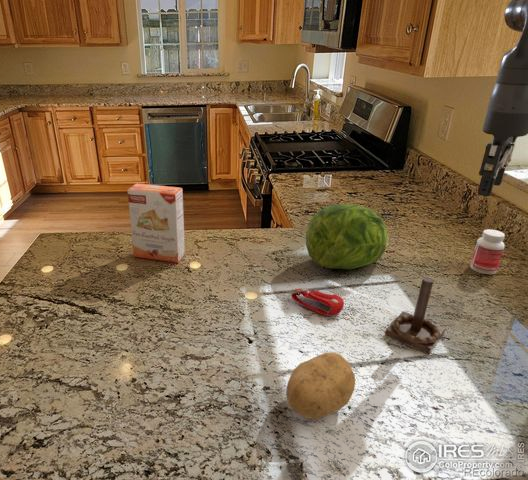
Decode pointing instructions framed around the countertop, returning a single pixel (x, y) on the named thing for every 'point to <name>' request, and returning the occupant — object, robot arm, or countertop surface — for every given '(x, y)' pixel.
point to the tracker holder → (319, 300)
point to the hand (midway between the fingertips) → (489, 189)
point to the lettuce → (346, 236)
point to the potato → (320, 386)
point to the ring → (411, 338)
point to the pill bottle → (488, 252)
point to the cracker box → (157, 222)
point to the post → (418, 321)
